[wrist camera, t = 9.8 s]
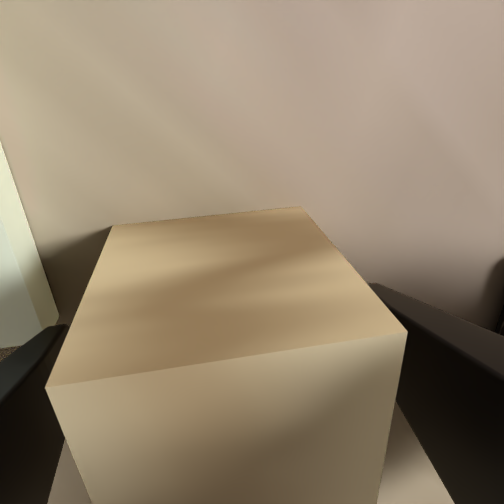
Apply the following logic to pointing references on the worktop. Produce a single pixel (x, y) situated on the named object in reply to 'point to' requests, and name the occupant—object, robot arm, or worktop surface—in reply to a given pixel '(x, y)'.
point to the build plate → (20, 271)
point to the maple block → (228, 366)
